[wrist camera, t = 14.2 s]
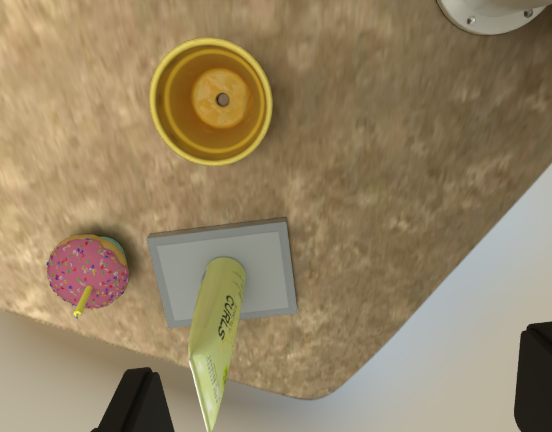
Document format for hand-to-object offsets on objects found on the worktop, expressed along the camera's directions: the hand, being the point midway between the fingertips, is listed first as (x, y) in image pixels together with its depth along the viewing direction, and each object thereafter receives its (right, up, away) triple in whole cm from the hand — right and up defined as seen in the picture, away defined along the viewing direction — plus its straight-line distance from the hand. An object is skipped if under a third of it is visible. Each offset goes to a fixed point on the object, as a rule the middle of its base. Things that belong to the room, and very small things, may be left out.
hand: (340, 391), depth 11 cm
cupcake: (-22, 0, +38) cm, 44 cm away
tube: (-8, -3, +38) cm, 39 cm away
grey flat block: (-8, -2, +39) cm, 40 cm away
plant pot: (-7, +17, +33) cm, 37 cm away
